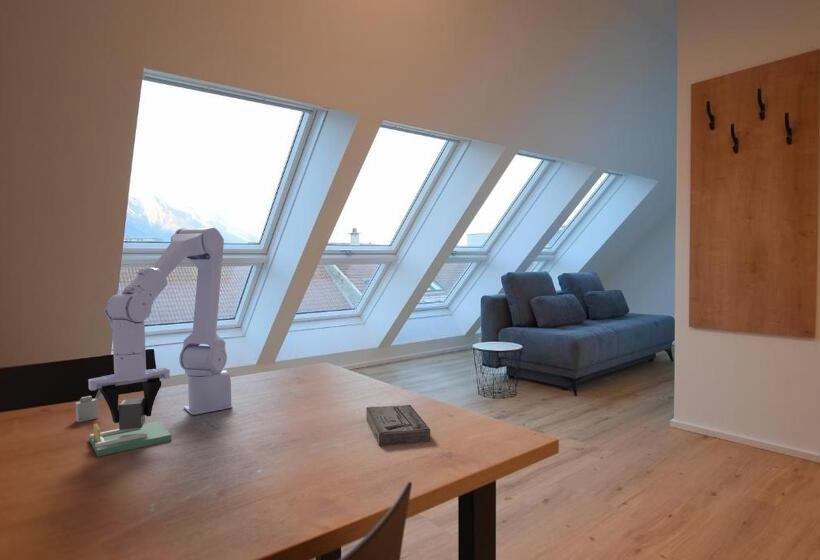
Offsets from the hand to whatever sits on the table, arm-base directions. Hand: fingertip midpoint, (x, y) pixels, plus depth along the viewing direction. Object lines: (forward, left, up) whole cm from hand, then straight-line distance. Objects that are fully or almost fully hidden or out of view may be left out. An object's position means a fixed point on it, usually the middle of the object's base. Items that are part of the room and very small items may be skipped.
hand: (132, 418), depth 106 cm
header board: (0, 0, -4) cm, 4 cm away
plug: (0, 0, -2) cm, 2 cm away
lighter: (+4, -22, -5) cm, 23 cm away
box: (-45, +30, -5) cm, 54 cm away
